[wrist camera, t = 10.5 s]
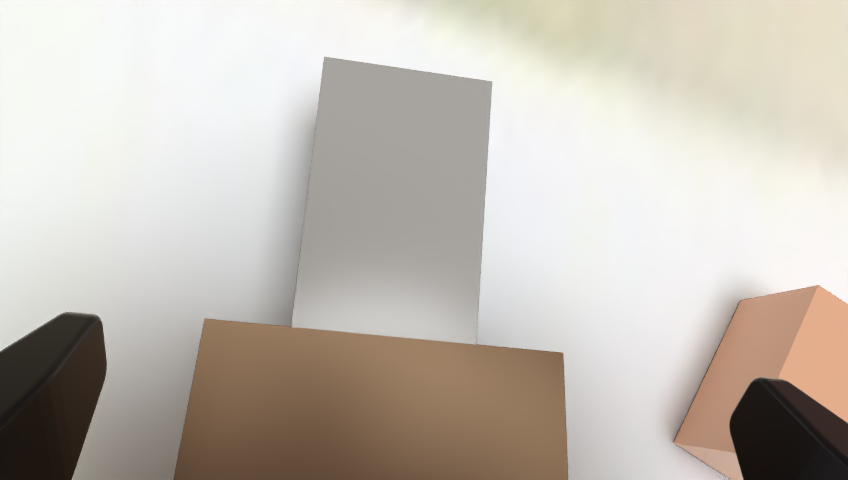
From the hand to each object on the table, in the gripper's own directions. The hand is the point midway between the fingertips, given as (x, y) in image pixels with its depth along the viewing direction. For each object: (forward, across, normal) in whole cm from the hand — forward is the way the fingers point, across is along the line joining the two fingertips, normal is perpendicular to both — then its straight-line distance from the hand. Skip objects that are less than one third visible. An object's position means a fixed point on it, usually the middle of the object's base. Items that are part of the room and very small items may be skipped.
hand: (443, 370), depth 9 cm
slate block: (+9, 0, +7) cm, 11 cm away
